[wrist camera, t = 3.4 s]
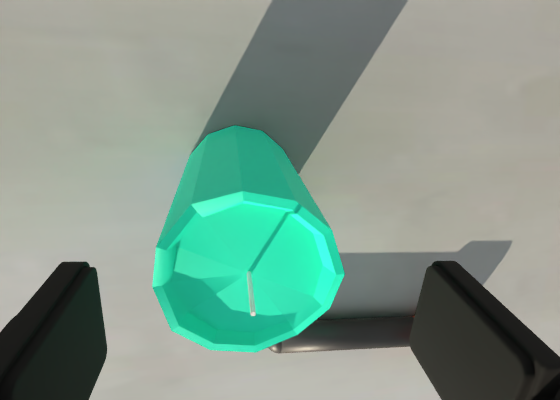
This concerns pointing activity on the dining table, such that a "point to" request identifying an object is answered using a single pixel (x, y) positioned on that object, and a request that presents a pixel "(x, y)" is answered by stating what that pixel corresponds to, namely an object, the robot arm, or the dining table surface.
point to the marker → (349, 335)
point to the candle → (244, 247)
